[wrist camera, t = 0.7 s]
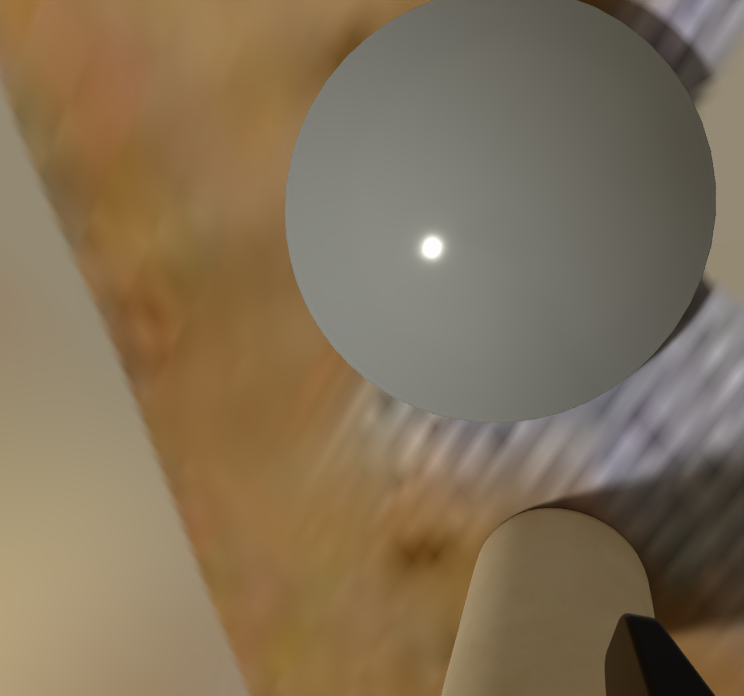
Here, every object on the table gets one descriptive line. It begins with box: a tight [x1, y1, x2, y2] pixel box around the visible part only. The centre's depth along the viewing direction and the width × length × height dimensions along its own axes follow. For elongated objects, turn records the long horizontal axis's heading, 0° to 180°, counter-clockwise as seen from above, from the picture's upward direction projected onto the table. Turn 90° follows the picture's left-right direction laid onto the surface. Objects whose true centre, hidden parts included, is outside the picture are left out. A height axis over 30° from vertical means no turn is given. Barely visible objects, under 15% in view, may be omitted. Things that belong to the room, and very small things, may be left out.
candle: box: [441, 508, 655, 696], centre depth 17 cm, size 6×6×10 cm
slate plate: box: [285, 0, 716, 423], centre depth 18 cm, size 12×12×1 cm
